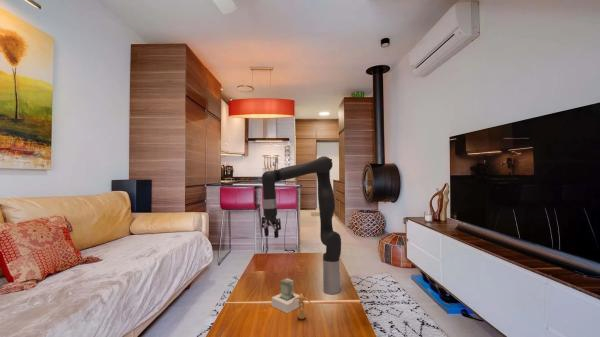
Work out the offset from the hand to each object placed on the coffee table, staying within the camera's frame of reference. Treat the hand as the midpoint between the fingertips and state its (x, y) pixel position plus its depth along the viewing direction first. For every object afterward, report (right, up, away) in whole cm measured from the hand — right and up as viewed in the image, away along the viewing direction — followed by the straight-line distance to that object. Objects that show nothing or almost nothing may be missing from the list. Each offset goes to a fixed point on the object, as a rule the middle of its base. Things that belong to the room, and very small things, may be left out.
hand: (271, 236), depth 142 cm
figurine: (+16, -30, -27) cm, 44 cm away
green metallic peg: (+9, -30, -14) cm, 35 cm away
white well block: (+9, -30, -14) cm, 35 cm away
